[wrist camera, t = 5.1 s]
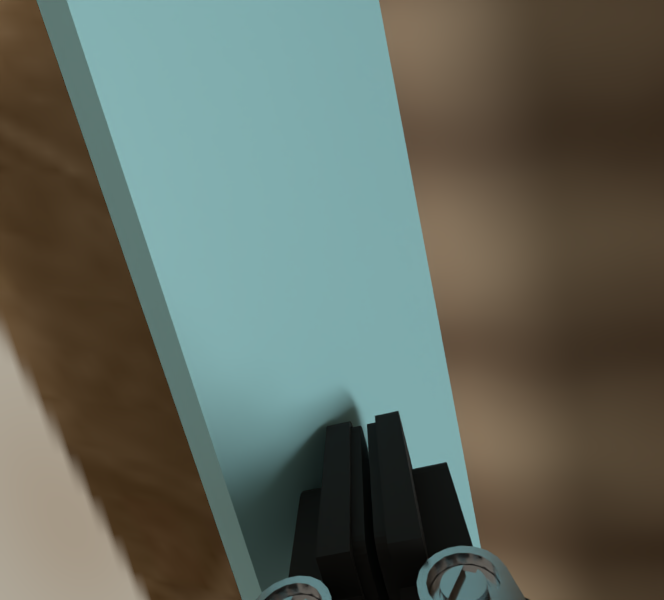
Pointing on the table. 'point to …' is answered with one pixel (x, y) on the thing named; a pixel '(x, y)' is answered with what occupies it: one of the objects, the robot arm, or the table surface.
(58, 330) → the table surface
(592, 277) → the tray
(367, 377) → the panel
